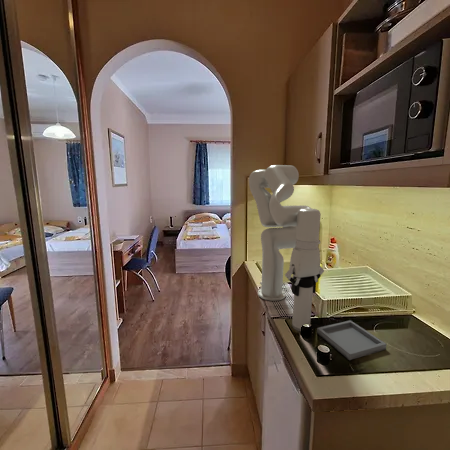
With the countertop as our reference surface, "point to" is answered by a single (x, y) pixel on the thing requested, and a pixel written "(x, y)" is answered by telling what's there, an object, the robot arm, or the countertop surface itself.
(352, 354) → the tray
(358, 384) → the countertop surface
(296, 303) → the travel mug
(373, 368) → the countertop surface
